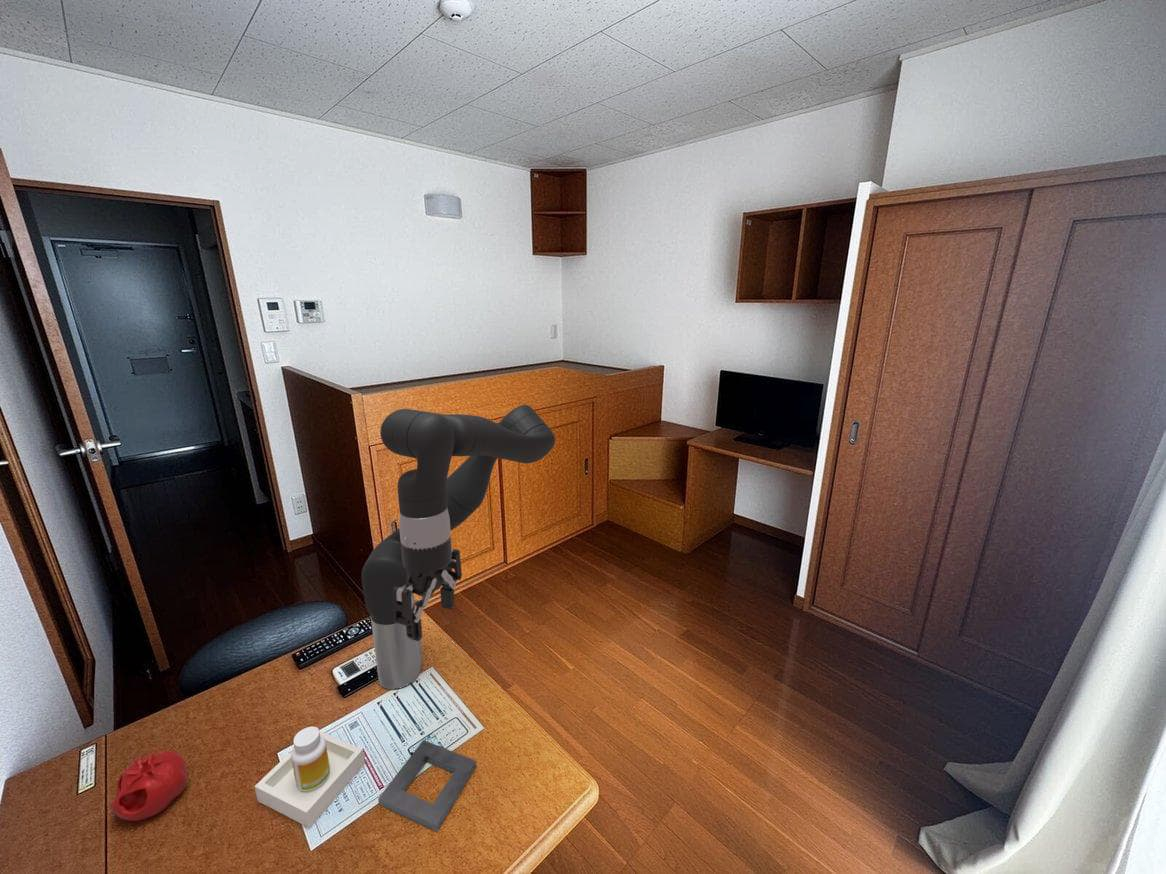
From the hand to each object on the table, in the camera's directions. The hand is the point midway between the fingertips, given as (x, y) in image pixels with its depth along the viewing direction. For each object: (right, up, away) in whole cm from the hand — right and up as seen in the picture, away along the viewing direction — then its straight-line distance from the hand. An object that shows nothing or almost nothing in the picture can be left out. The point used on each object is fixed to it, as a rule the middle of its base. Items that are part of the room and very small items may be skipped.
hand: (432, 622), depth 77 cm
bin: (-24, -32, +7) cm, 40 cm away
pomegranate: (-50, -32, +4) cm, 59 cm away
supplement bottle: (-24, -31, +7) cm, 40 cm away
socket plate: (-3, -32, +7) cm, 33 cm away
